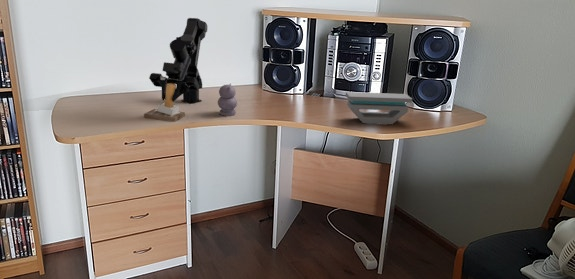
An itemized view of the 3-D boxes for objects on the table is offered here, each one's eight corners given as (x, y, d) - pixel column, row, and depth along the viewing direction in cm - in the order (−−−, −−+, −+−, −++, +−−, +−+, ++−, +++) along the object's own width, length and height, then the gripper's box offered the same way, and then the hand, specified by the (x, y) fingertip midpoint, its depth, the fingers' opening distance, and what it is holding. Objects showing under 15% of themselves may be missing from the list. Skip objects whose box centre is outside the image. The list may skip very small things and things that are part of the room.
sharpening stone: (346, 123, 173) (349, 96, 169) (343, 117, 180) (345, 91, 177) (408, 125, 175) (412, 98, 171) (402, 119, 182) (406, 94, 178)
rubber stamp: (164, 108, 171) (167, 81, 167) (178, 112, 170) (181, 85, 166) (157, 111, 167) (160, 83, 163) (171, 115, 165) (175, 88, 161)
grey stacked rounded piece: (218, 110, 180) (218, 82, 176) (237, 111, 181) (237, 82, 177) (217, 116, 172) (216, 86, 168) (236, 117, 173) (237, 87, 169)
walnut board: (154, 112, 174) (154, 108, 173) (184, 115, 171) (184, 112, 171) (144, 117, 166) (143, 113, 166) (175, 121, 164) (175, 117, 163)
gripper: (150, 51, 166) (136, 85, 159) (196, 56, 162) (183, 91, 155) (161, 69, 176) (148, 102, 169) (204, 73, 172) (193, 107, 165)
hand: (167, 100), depth 164 cm, fingers closed on rubber stamp, 4 cm apart
